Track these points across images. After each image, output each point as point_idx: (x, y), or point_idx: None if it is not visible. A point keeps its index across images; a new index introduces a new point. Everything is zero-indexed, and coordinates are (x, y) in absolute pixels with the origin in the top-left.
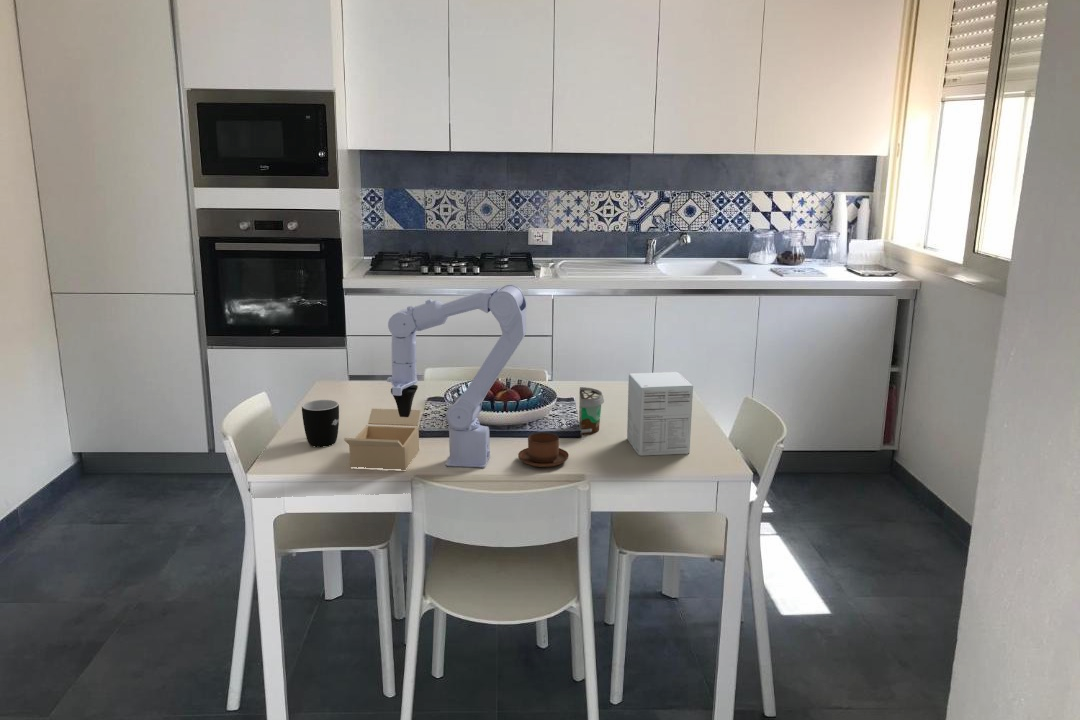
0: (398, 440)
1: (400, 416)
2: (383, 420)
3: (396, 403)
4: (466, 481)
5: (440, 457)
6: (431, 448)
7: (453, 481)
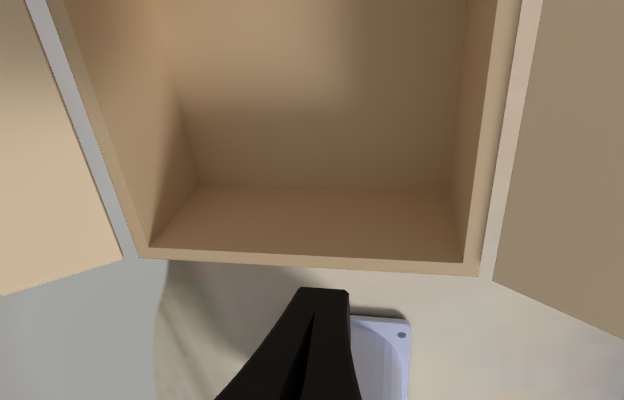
0: (9, 293)
1: (296, 293)
2: (581, 18)
3: (231, 383)
4: (187, 361)
5: (377, 284)
6: (493, 240)
7: (173, 334)
